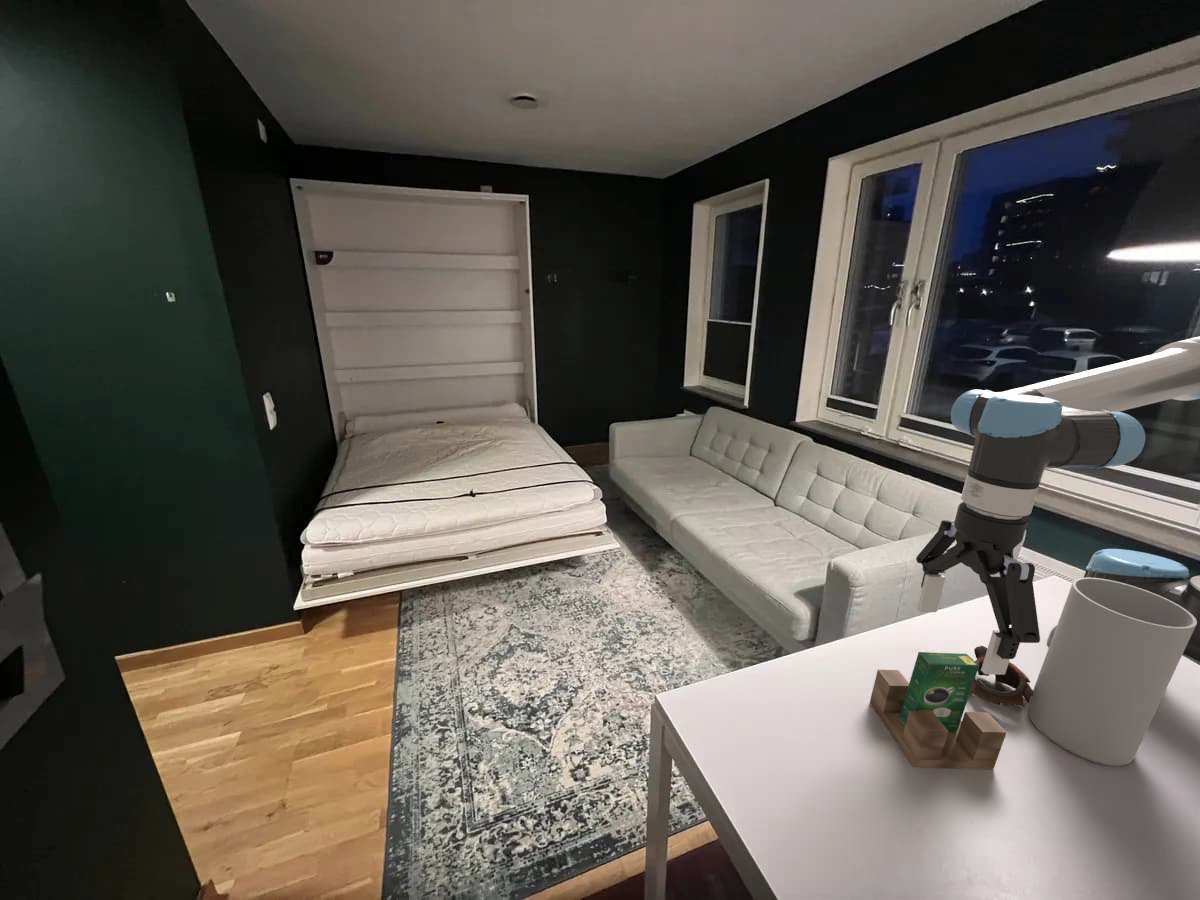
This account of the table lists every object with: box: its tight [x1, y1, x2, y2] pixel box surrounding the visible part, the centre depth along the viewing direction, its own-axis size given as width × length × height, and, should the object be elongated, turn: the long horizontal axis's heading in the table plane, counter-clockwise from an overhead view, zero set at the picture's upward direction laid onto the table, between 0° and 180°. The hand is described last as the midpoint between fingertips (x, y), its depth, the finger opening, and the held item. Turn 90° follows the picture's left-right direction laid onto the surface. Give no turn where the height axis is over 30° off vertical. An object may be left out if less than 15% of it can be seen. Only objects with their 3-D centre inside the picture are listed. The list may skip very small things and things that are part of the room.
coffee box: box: [899, 651, 979, 732], centre depth 74 cm, size 8×3×13 cm, turn 90°
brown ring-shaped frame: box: [969, 645, 1033, 708], centre depth 85 cm, size 12×10×8 cm
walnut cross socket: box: [869, 669, 1007, 770], centre depth 75 cm, size 12×12×7 cm
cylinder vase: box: [1026, 577, 1197, 767], centre depth 73 cm, size 12×12×25 cm
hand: (956, 638), depth 71 cm, fingers open, 13 cm apart
